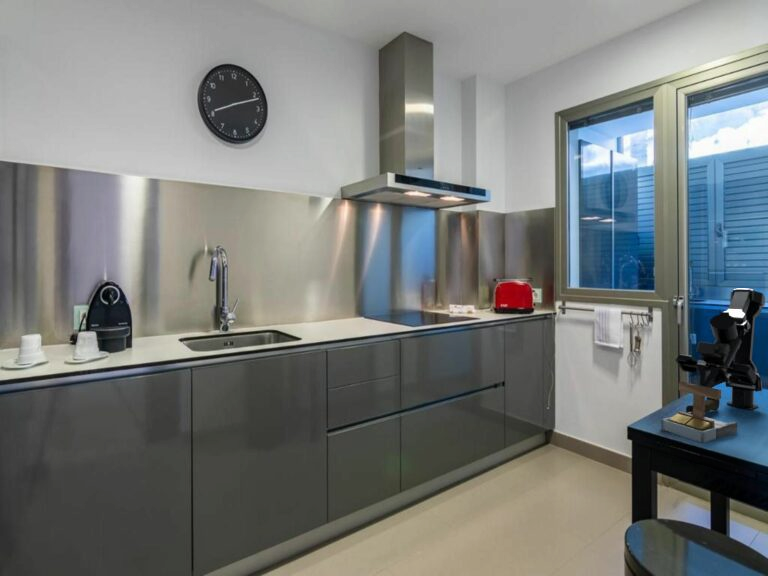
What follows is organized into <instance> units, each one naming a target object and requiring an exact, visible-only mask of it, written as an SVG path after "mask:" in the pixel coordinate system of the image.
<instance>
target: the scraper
mask: <svg viewBox="0 0 768 576" xmlns="http://www.w3.org/2000/svg"><path fill="white" fill-rule="evenodd" d="M678 391H679V392H684V393H688V394H692V395H693V396H692V398H693V399H692V401H693V402H692V405H693V415H691V414H688V413H686V412H683V411H677V413H678V414H681V415H685V416H688V417H692V419H694V418H695V419H698V420H702V421H705V422H709V423H710V428H711V429H712V428H714V426H715V421H713V420H709V419H706V418H705V417H706V416H705V415H706V413H705V400H706V398H707V397H708V398H713V399H719V400H721V399H722V389H720V388H714V387H712V388H710V387H705V386H700V384H695V383H692V382H686V381H679V382H678Z"/></svg>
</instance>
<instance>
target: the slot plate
mask: <svg viewBox="0 0 768 576" xmlns="http://www.w3.org/2000/svg"><path fill="white" fill-rule="evenodd" d="M687 413H688V414H691V415H693V411H691V412H687ZM705 418H706V419H709V420H713V421H715V426H714V428H716V439H715V440H719V439H722V438H725V437H728V436H731V435H734V434H737V433H738V421H732V422H725V421H723V420H718V419H715V418H714V419H713V418H711V417H708V416H705Z"/></svg>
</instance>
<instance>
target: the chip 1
mask: <svg viewBox="0 0 768 576" xmlns="http://www.w3.org/2000/svg"><path fill="white" fill-rule="evenodd" d="M671 417H672V418H671V419H669V420H670V422H673V423H677V424H680V425H683V426H686V424H687V423H688V422H690V421H691V420H692V417H688V416H685V415H681V414H678V412H677V413H676V414H674V415H673V416H671Z"/></svg>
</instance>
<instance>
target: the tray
mask: <svg viewBox="0 0 768 576" xmlns="http://www.w3.org/2000/svg"><path fill="white" fill-rule="evenodd" d="M672 417H673V416H670V417H666V418H662V419H661V420H660V421H661V424H660V427H661V428H660V429H662V431H664V430H665V431H664V432H667V431H668V432H667V433H670V432H671V434H673V433H674V434H673V435H677V436H679V437H682V438H685V439H689V440H692V441H694V442H699V443H701V444H705V443H709V442H711V441H715V440H717V439H716V428H712V429H708V430H705V431H700V430H696V429H693V428H690V427H687V426H683V425H680V424H677V423H673V422H670V420H669V419H671V418H672Z"/></svg>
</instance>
